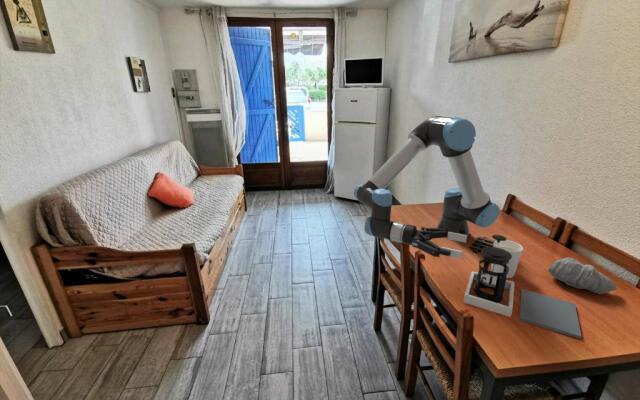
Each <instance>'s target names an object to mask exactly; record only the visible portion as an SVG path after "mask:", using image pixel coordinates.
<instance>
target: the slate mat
mask: <svg viewBox="0 0 640 400" xmlns="http://www.w3.org/2000/svg"><path fill="white" fill-rule="evenodd" d="M519 304H520V307H519V321H522V322H525V323H529V324H531V325H535V326H538V327H541V328H544V329H547V330H550V331H554V332H556V333H559V334H563V335H566V336H568V337H572V338H575V339H579V340H582V333H581V332H582V331H581V328H580V327H581V326H580V323H579V317H578V312H577V308H576V303H575V302H570V301H567V300H564V299H559V298H556V297H552V296H548V295H546V294H541V293H538V292H534V291H529V290H526V289H521V290H520V303H519Z"/></svg>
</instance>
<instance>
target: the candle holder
mask: <svg viewBox="0 0 640 400" xmlns="http://www.w3.org/2000/svg"><path fill="white" fill-rule="evenodd" d="M492 243H493V246H492V247H497V244H498V242H497V240H495V241H493V242H492ZM498 248H501V249H504V250H506V251H508V252H509V253H510V254H511V255H512V258H511V259H510V260H509V263H508V264H506V265H507V266H508V267H509V272H508V274H507V275H506V277H507V278H506V279H511V278H513V277H514V276H516V272H517V269H518V266H519V262H520V258H521V256H522V253H523V250H524V248H523V246H522V245H521V244H519V243H518V242H515V241H512V240H508V239H507V240H506V241H500V243H499V245H498ZM492 269H493V264H492V263H490V271H492ZM503 270H504V267H503V266H501V265H496V264H495V265H494V270H493V272H497V273H503Z"/></svg>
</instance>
